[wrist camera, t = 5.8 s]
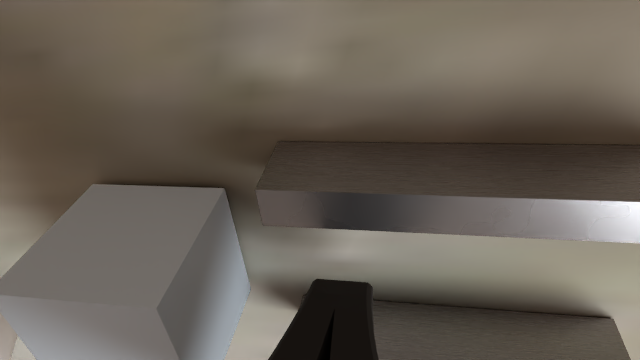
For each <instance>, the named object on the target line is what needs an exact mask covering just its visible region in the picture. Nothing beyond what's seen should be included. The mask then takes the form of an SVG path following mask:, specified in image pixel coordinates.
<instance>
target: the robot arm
mask: <svg viewBox="0 0 640 360" xmlns="http://www.w3.org/2000/svg"><path fill="white" fill-rule="evenodd" d="M268 360H379V359H378V354H377V349H376V343H375V336H374V319H373V287H372V286H371V285H370V284H369V283H366V282H352V281H338V280H324V279H316V280H315V281H313V282H312V284H311V287H310V289H309V291H308V293H307V295H306V297H305V299H304V301H303V303H302V304H301V306H300V308H299V310H298V312H297V314H296V315H295V317H294V319H293V321H292V322H291V324H290V326H289V327H288V329H287V331H286V332H285V334H284V336H283V337H282V339H281V340H280V342H279V343H278V345H277V347H276V348H275V350H274V351H273V353H272V355H271V356H270V358H269V359H268Z"/></svg>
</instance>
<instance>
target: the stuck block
mask: <svg viewBox="0 0 640 360" xmlns="http://www.w3.org/2000/svg"><path fill="white" fill-rule="evenodd" d="M250 290H251V287H250V284H249V280H248V276H247V272H246V268H245V264H244V261H243V257H242V253H241V249H240V245H239V241H238V238H237V234H236V230H235V226H234V222H233V219H232V215H231V211H230V207H229V203H228V199H227V196H226V192H225V188H200V187H169V186H137V185H106V184H92V185H91V186H90V187H89V188H88V189H87V190H86V191H85V192H84V193H83V194H82V195H81V196H80V197H79V199H78V200H77V201H76V202H75V203H74V204H73V205H72V206H71V207H70V208H69V209H68V210H67V211H66V212H65V213H64V214H63V215H62V216H61V217H60V218H59V219H58V220H57V221H56V222H55V223H54V224H53V225H52V226H51V227H50V228H49V229H48V230H47V231H46V232H45V233H44V234H43V235H42V237H41V238H40V239H39V240H38V241H37V242H36V243H35V244H34V245H33V246H32V247H31V248H30V249H29V250H28V251H27V252H26V253H25V254H24V255H23V256H22V257H21V258H20V259H19V260H18V261H17V262H16V263H15V264H14V265H13V266H12V267H11V268H10V269H9V270H8V271H7V272H6V273H5V275H4V276H3V277H2V278H1V279H0V313H1V314H2V315H3V317H4V318H5V319H6V320H7V322H8V323H9V324H10V326H11V327H12V328H13V330H14V331H15V332H16V333H17V335H18V336H19V337H20V339H21V340H22V341H23V343H24V344H25V345H26V346H27V348H28V349H29V350H30V352H31V353H32V354H33V356H34V357H35V358H36V359H37V360H224V359H225V356H226V354H227V351H228V348H229V346H230V343H231V340H232V338H233V335H234V332H235V330H236V327H237V324H238V322H239V319H240V316H241V314H242V311H243V309H244V306H245V303H246V301H247V298H248V295H249V293H250Z"/></svg>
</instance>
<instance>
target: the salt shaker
mask: <svg viewBox="0 0 640 360" xmlns="http://www.w3.org/2000/svg"><path fill="white" fill-rule="evenodd" d="M17 336H18V335H17V333H16V332H15V331H14V330H13V328H12V327H11V326H10V324H9V323H8V322H7V320H6V319H5V318H4V317H3V315H2V314H1V313H0V360H10V359H11V356H12V353H13V349H14V346H15V342H16V339H17Z"/></svg>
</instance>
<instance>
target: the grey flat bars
mask: <svg viewBox="0 0 640 360" xmlns="http://www.w3.org/2000/svg"><path fill="white" fill-rule="evenodd" d="M255 191H256V196H257V201H258V206H259V210H260V215H261V220H262V224H263V225H264V226H285V227H306V228H327V229H348V230H369V231H390V232H412V233H433V234H454V235H475V236H496V237H517V238H538V239H559V240H580V241H601V242H623V243H640V146H638V145H544V144H450V143H356V142H278V143H277V145H276V147H275V149H274V151H273V153H272V155H271V158H270V160H269V162H268V164H267V166H266V168H265V170H264V172H263V174H262V177H261V179H260V181H259V183H258V185H257V187H256V189H255ZM305 297H306V295H303V298H302V302H301V304H302V303H303V301H304V299H305ZM373 319H374V336H375V343H376V349H377V354H378V359H379V360H631V359H630V357H629V354H628V352H627V350H626V347H625V345H624V343H623V340H622V338H621V336H620V333H619V331H618V329H617V326H616V324H615V321H614V319H609V318H596V317H583V316H570V315H556V314H543V313H530V312H517V311H504V310H491V309H478V308H465V307H452V306H439V305H426V304H413V303H400V302H387V301H374V300H373Z"/></svg>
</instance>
